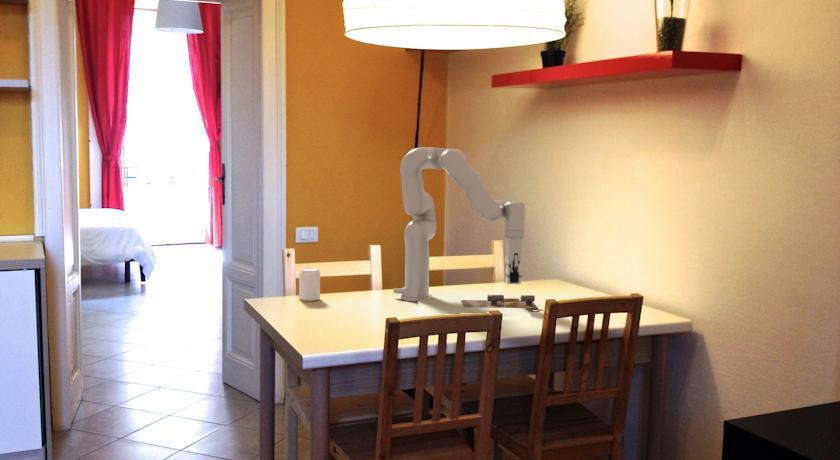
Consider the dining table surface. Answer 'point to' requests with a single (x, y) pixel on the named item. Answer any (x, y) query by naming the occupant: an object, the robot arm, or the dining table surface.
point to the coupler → (508, 270)
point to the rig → (503, 302)
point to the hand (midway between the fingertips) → (513, 280)
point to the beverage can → (309, 284)
